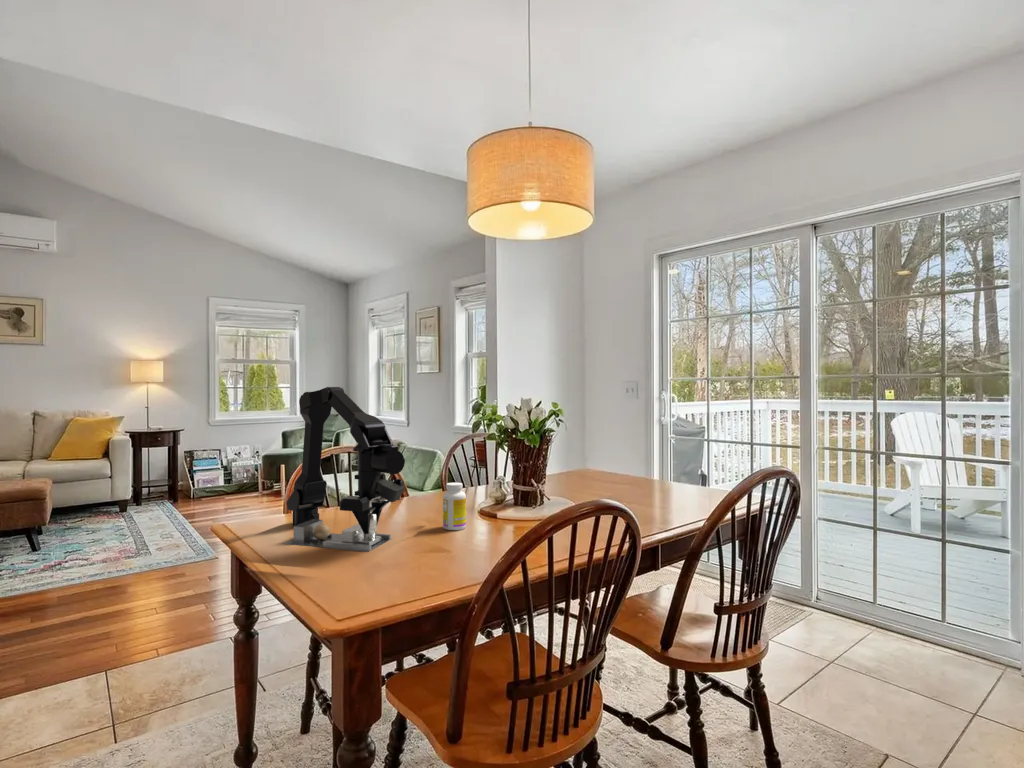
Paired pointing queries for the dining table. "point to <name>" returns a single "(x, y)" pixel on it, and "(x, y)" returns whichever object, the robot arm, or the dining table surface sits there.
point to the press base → (328, 538)
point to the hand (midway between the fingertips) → (369, 532)
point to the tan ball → (321, 531)
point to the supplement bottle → (454, 507)
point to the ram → (357, 535)
